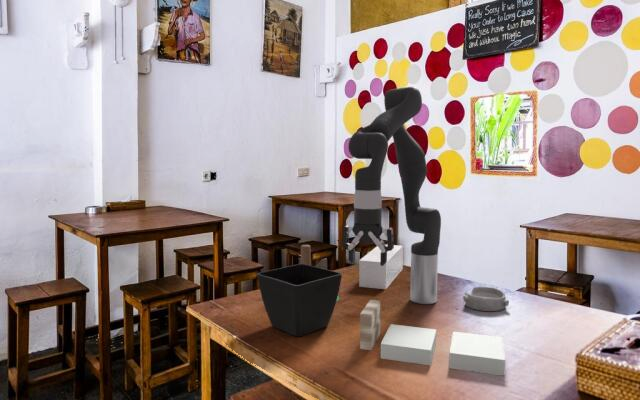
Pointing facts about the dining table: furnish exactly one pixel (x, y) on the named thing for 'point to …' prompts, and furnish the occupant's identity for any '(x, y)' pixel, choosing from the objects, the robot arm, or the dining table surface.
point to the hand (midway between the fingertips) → (367, 264)
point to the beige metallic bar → (369, 325)
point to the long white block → (380, 268)
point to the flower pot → (299, 297)
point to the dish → (486, 299)
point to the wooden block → (307, 257)
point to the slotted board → (464, 350)
